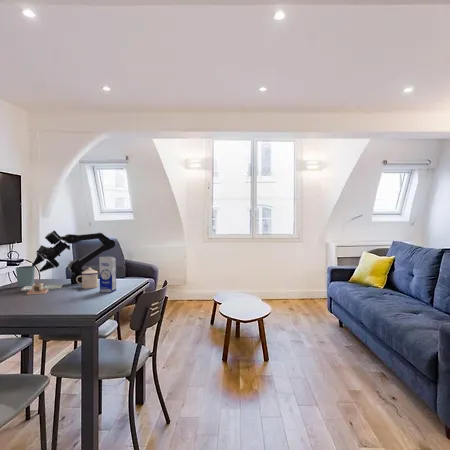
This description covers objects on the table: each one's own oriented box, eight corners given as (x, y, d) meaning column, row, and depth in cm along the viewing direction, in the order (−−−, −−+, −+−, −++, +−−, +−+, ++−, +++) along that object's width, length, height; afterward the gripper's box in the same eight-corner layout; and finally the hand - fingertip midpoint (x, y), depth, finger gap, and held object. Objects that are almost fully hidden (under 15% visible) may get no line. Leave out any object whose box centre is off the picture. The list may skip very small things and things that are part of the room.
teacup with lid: (98, 285, 210) (97, 266, 210) (98, 288, 202) (98, 268, 201) (76, 286, 206) (76, 267, 206) (76, 289, 197) (75, 269, 197)
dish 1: (42, 287, 204) (42, 285, 204) (39, 290, 196) (39, 288, 195) (25, 288, 201) (25, 286, 201) (21, 291, 193) (21, 289, 193)
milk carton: (99, 292, 189) (99, 256, 189) (104, 290, 196) (103, 255, 195) (112, 292, 189) (111, 256, 188) (116, 290, 195) (116, 255, 195)
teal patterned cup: (28, 288, 203) (28, 267, 203) (12, 288, 203) (11, 268, 203) (38, 284, 213) (38, 265, 213) (22, 285, 213) (22, 265, 213)
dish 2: (48, 291, 193) (48, 288, 193) (45, 294, 185) (45, 292, 185) (30, 292, 191) (30, 289, 191) (26, 295, 182) (26, 293, 182)
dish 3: (62, 286, 207) (62, 284, 207) (60, 289, 199) (60, 286, 199) (46, 287, 205) (46, 285, 205) (43, 290, 196) (43, 287, 196)
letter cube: (43, 291, 191) (43, 283, 190) (41, 292, 186) (41, 284, 186) (34, 291, 189) (34, 283, 189) (32, 293, 185) (32, 285, 185)
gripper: (41, 236, 209) (20, 254, 202) (57, 246, 199) (34, 266, 191) (52, 248, 217) (32, 266, 210) (67, 258, 206) (46, 277, 199)
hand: (35, 268), depth 202 cm, fingers open, 9 cm apart
